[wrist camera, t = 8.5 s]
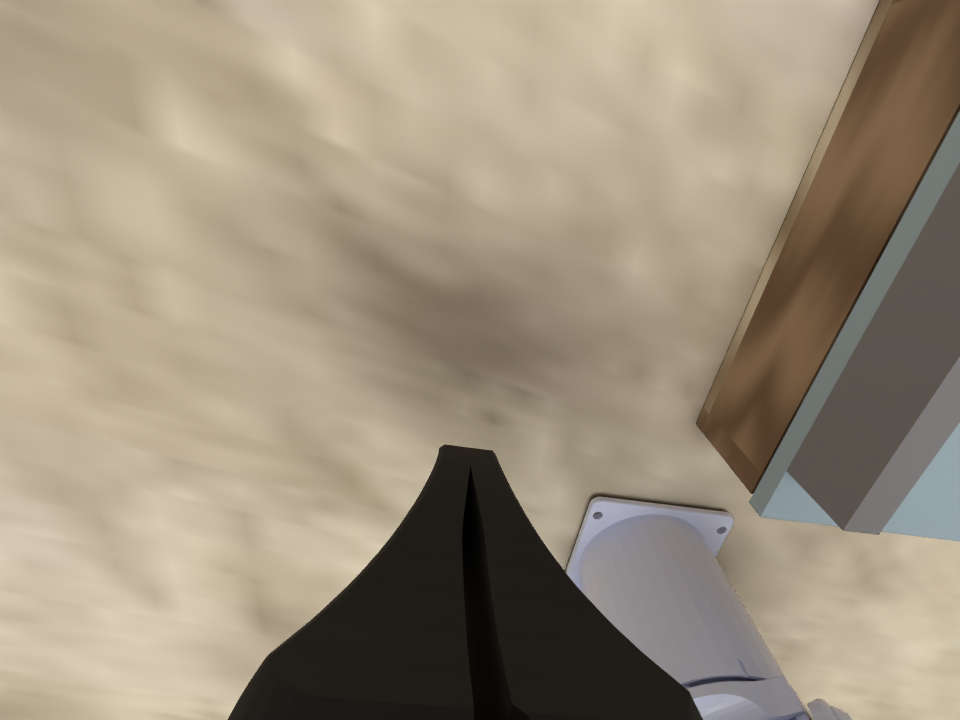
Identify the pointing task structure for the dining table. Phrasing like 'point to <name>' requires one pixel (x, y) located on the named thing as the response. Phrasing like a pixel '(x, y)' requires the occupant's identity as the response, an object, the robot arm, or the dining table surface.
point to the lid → (887, 388)
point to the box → (837, 226)
